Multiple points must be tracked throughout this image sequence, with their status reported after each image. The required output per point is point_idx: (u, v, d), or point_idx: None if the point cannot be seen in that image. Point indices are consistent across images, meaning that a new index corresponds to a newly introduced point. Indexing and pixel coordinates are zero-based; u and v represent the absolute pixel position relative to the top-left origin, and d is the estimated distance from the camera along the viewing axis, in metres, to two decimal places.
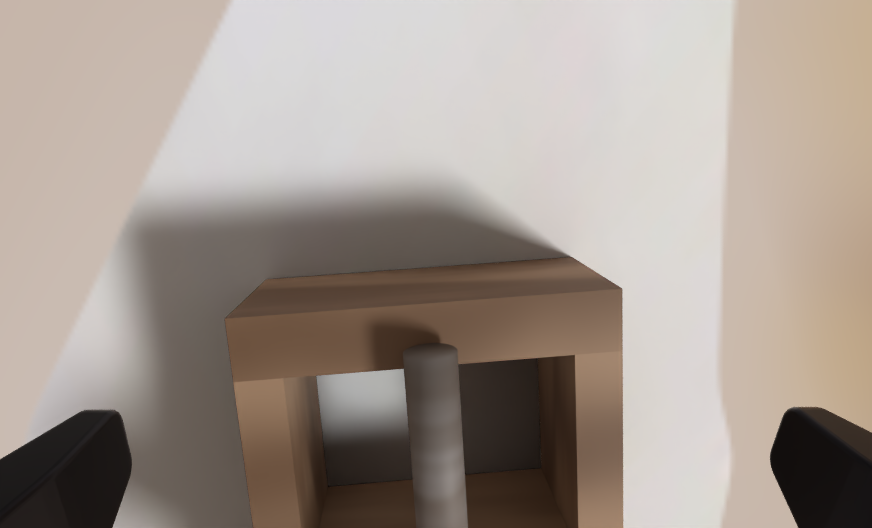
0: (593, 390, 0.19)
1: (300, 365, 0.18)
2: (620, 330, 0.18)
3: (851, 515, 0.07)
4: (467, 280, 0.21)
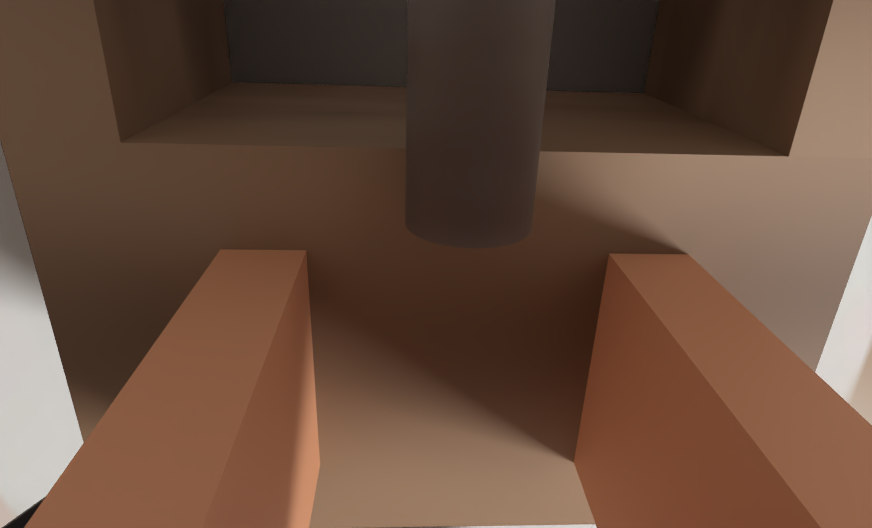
0: None
1: None
2: None
3: None
4: None
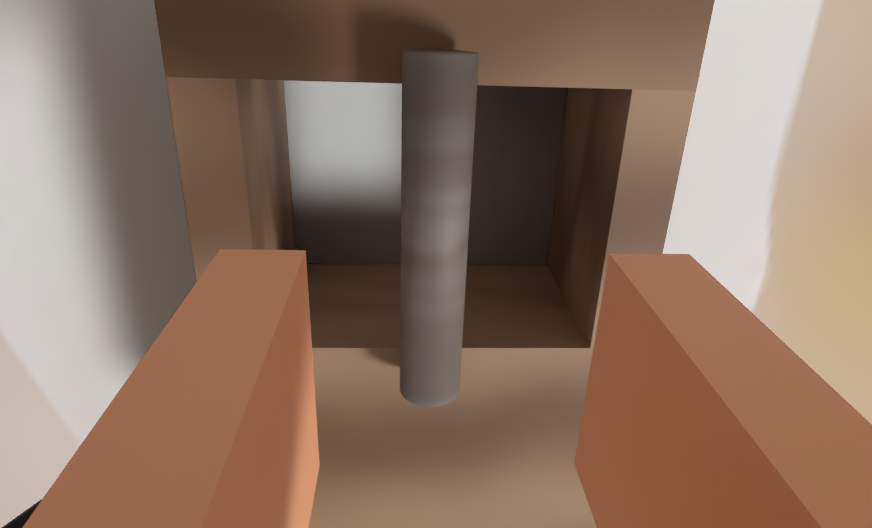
0: (646, 143, 0.14)
1: (259, 62, 0.13)
2: (699, 60, 0.14)
3: None
4: None
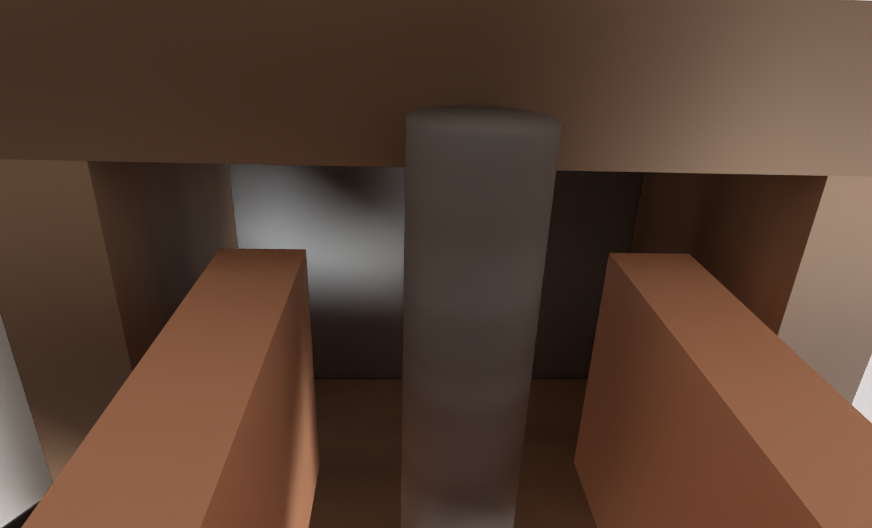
0: (839, 266, 0.08)
1: (131, 130, 0.07)
2: None
3: None
4: None
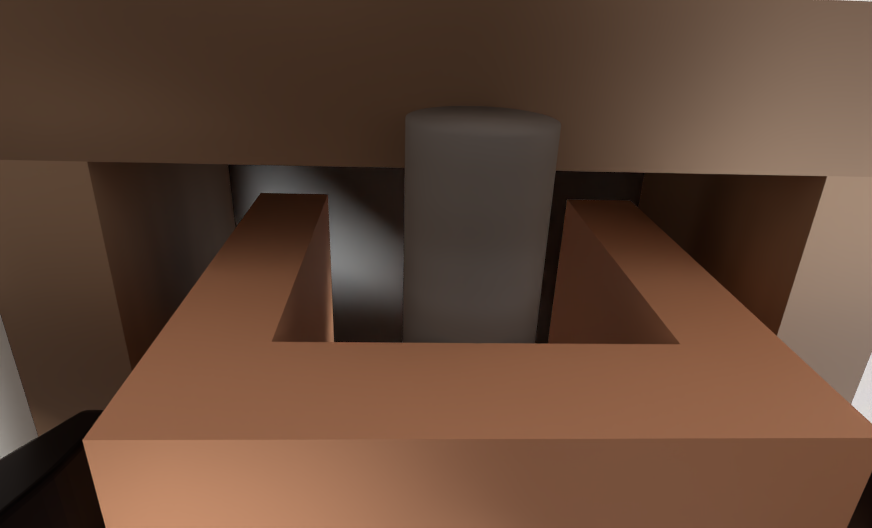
0: (839, 266, 0.08)
1: (131, 131, 0.07)
2: None
3: None
4: None
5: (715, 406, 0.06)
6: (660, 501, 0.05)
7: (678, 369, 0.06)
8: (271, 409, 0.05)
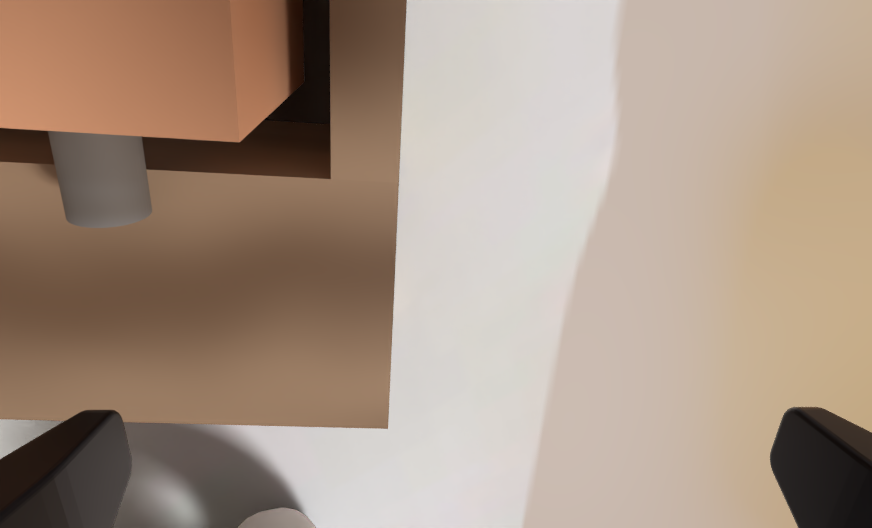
0: None
1: None
2: None
3: (851, 515, 0.07)
4: None
5: None
6: None
7: None
8: None
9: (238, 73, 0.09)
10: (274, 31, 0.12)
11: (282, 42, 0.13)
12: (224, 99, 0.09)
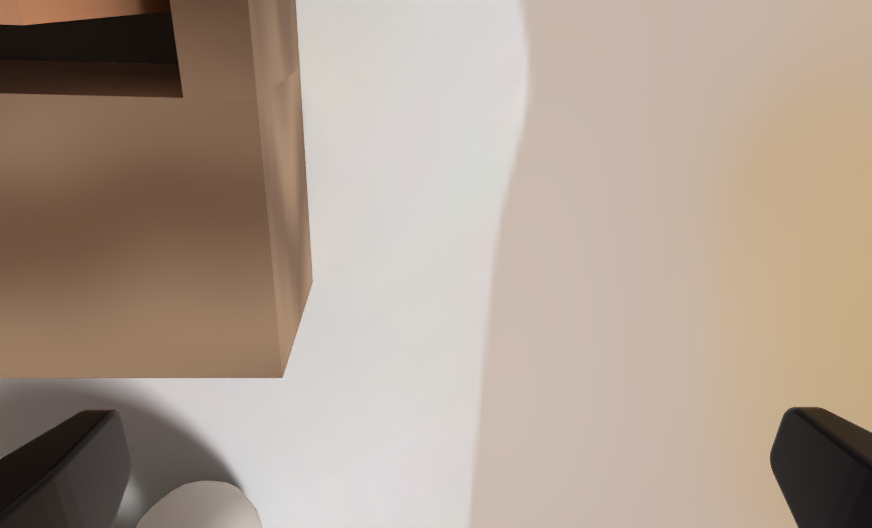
0: None
1: None
2: None
3: (851, 515, 0.07)
4: None
5: None
6: None
7: None
8: None
9: None
10: None
11: None
12: None
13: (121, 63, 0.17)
